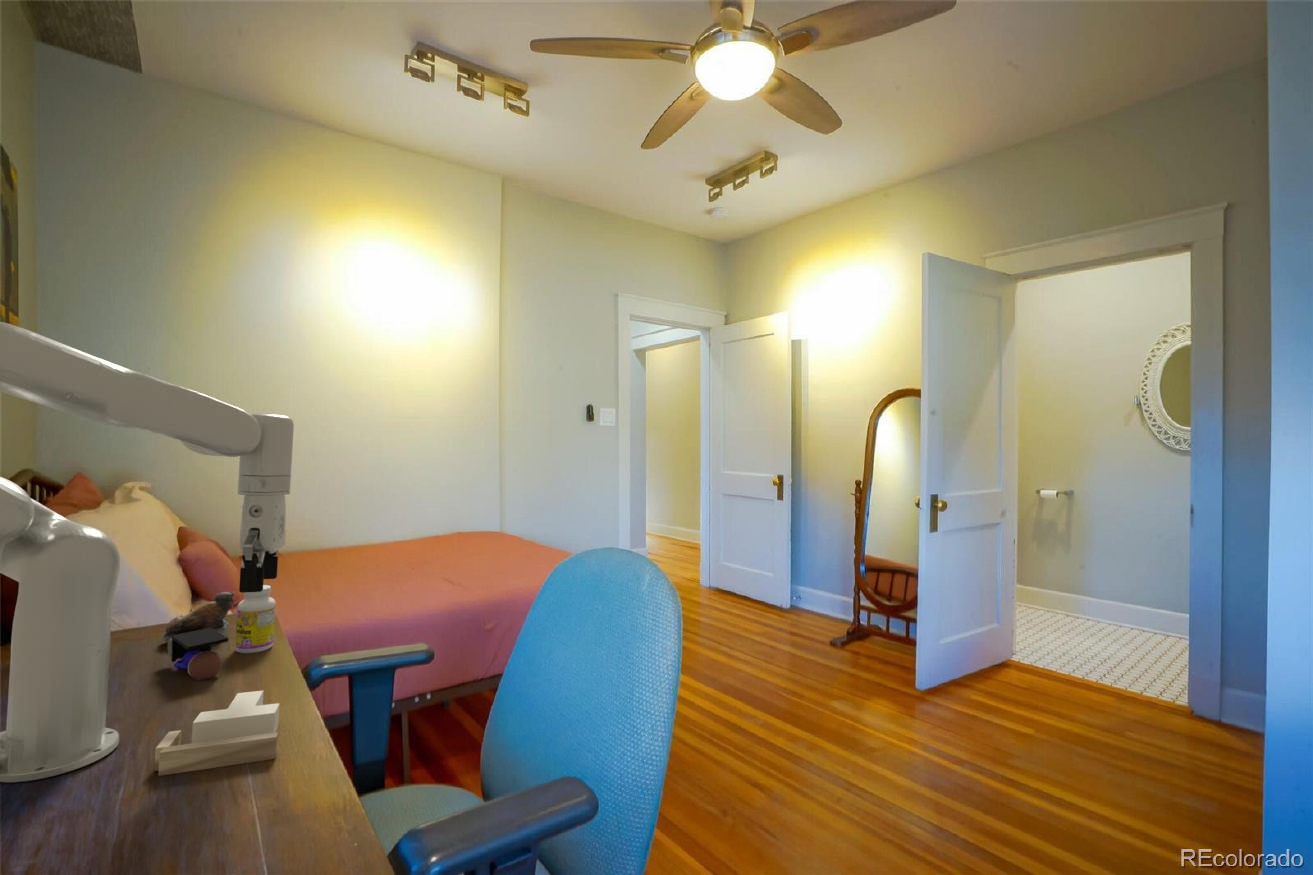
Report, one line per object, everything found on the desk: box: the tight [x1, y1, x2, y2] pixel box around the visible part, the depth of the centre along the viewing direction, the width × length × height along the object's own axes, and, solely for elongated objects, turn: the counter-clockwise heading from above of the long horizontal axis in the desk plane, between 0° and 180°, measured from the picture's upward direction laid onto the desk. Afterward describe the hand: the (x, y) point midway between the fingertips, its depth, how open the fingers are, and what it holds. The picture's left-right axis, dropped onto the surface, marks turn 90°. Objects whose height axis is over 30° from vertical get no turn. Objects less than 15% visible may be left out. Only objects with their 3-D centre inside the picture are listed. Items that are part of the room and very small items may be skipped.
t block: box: [191, 690, 281, 744], centre depth 90 cm, size 10×10×4 cm
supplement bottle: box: [234, 584, 276, 654], centre depth 123 cm, size 7×7×13 cm
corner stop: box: [153, 729, 280, 777], centre depth 81 cm, size 6×14×3 cm, turn 113°
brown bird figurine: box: [161, 590, 235, 643], centre depth 127 cm, size 12×7×10 cm, turn 119°
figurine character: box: [167, 628, 229, 681], centre depth 110 cm, size 7×8×15 cm
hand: (258, 585), depth 100 cm, fingers open, 9 cm apart
